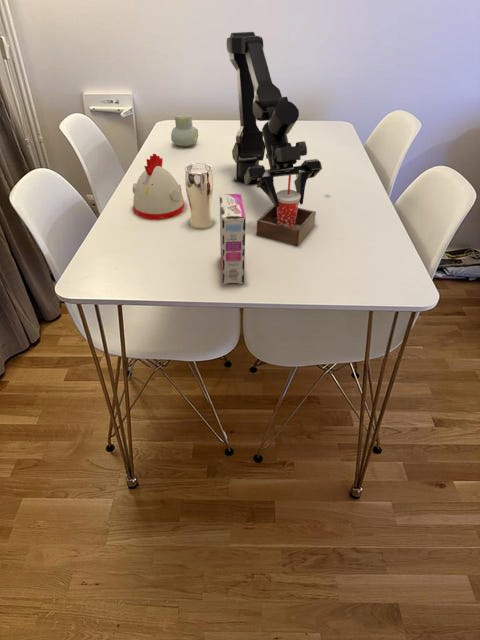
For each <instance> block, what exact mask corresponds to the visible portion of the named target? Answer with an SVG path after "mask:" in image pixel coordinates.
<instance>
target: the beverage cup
mask: <svg viewBox="0 0 480 640" xmlns="http://www.w3.org/2000/svg"><path fill="white" fill-rule="evenodd" d="M291 179H292V175H288V183H287V189H281V190H279V191H276V195H277V198H278V204H279V207H278V208H277V218H276V224H278V225H282V226H286V227H290V228H294V229H296V224H297V223H296V217H297V211H298V208H299V205H300V203H299V201H300V198H301V195H300V193H298V192H297V191H296V190H294V189H291Z"/></svg>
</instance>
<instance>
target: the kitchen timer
mask: <svg viewBox="0 0 480 640" xmlns="http://www.w3.org/2000/svg"><path fill="white" fill-rule="evenodd" d="M163 161H164V159H163V157H161V156H160V155H158V154H157V153H152V155H150V156H149V158H146V165H144V170H143V171H142V172H141V174H140V175H139V177H138V178H137V181H136V182H133V184H132V193H133V199H132V201H133V202H132V203H133V210H134V213H135V215H137V216H138V217H140V218H143V219H145V220H150V221H151V220H152V221H160V220H167V219H171V218H174V217H176V216H179V215H180V214H182V213H183V211H184V210H185V199H184V195H183V192H182V185H181V184H180V183H178V181H177V180H176V178H175V177H174V175H172V173H171V172H169V171H168V169H166V168H165V167H163V163H164V162H163Z"/></svg>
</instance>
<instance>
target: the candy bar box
mask: <svg viewBox="0 0 480 640" xmlns="http://www.w3.org/2000/svg"><path fill="white" fill-rule="evenodd" d="M246 221H247V216H246V212H245V208H244V202H243V197H242V194H241V193H229V194H228V193H227V194H219V241H220V242H219V243H220V246H219V247H220V249H219V250H220V265H221V276H222V285H224V286H231V285H245V260H246V259H245V256H246Z"/></svg>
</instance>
